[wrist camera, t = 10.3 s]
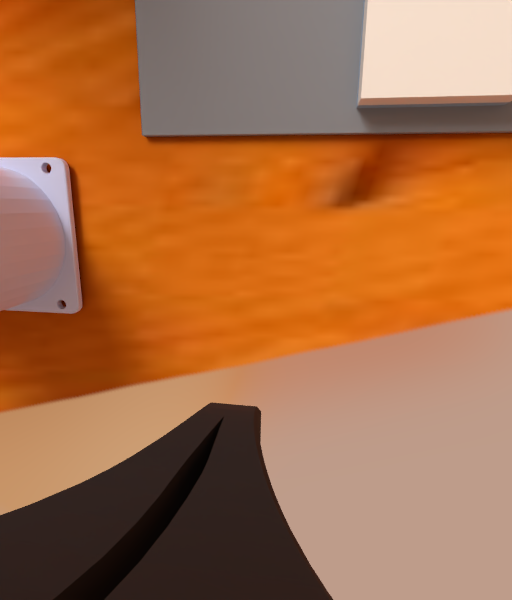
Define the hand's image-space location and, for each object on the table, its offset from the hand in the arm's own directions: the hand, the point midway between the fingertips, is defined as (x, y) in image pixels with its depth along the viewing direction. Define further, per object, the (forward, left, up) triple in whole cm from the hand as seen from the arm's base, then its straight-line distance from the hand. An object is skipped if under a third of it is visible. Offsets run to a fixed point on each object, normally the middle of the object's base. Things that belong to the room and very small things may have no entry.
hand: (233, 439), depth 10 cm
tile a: (+3, +13, -9) cm, 16 cm away
